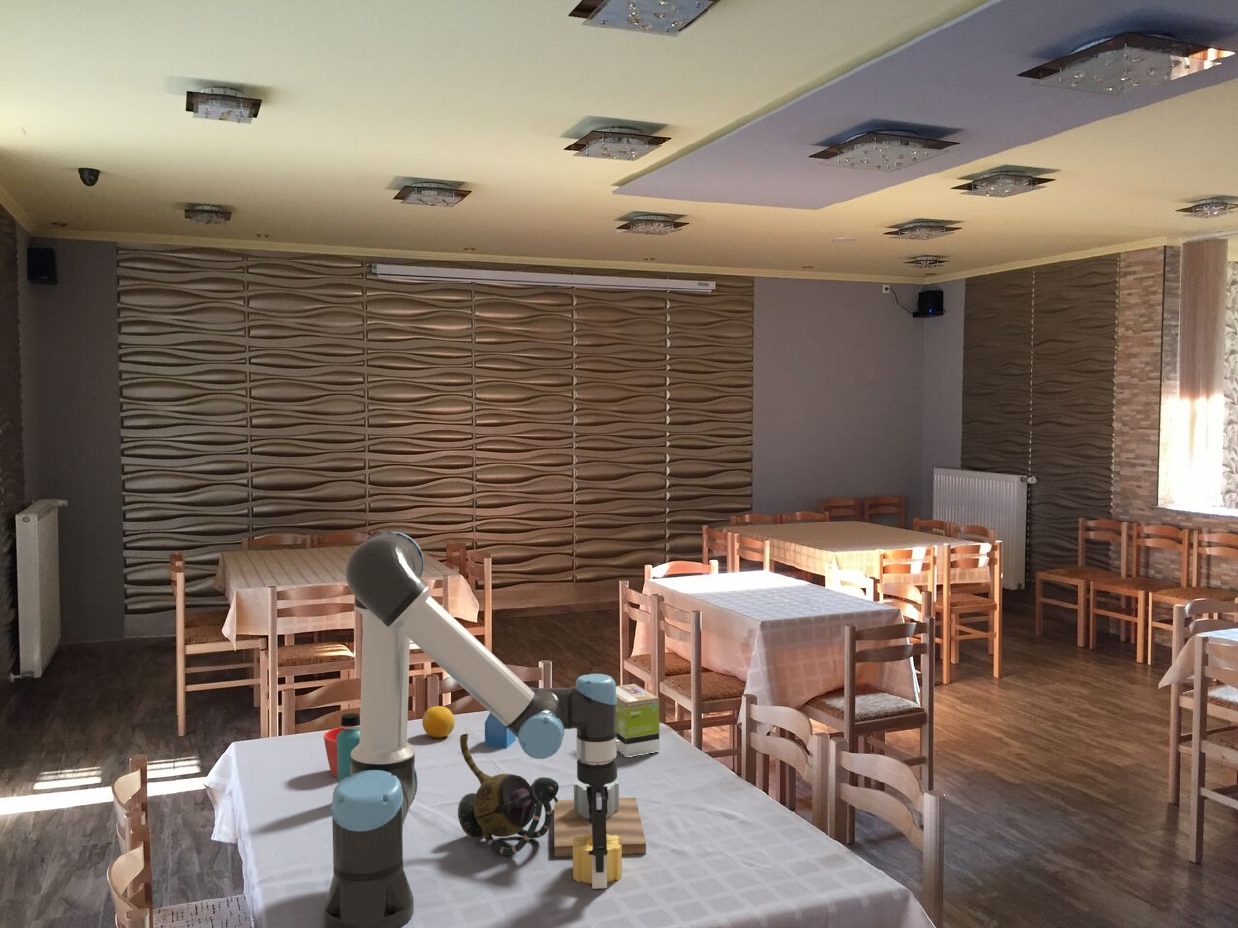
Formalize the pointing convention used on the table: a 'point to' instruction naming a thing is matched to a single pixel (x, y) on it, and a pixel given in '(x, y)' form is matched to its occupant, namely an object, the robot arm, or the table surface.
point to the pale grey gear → (582, 803)
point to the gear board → (575, 825)
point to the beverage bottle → (347, 743)
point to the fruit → (438, 721)
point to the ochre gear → (584, 860)
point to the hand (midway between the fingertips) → (597, 872)
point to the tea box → (637, 720)
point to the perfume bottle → (497, 733)
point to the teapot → (505, 806)
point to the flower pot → (332, 748)
